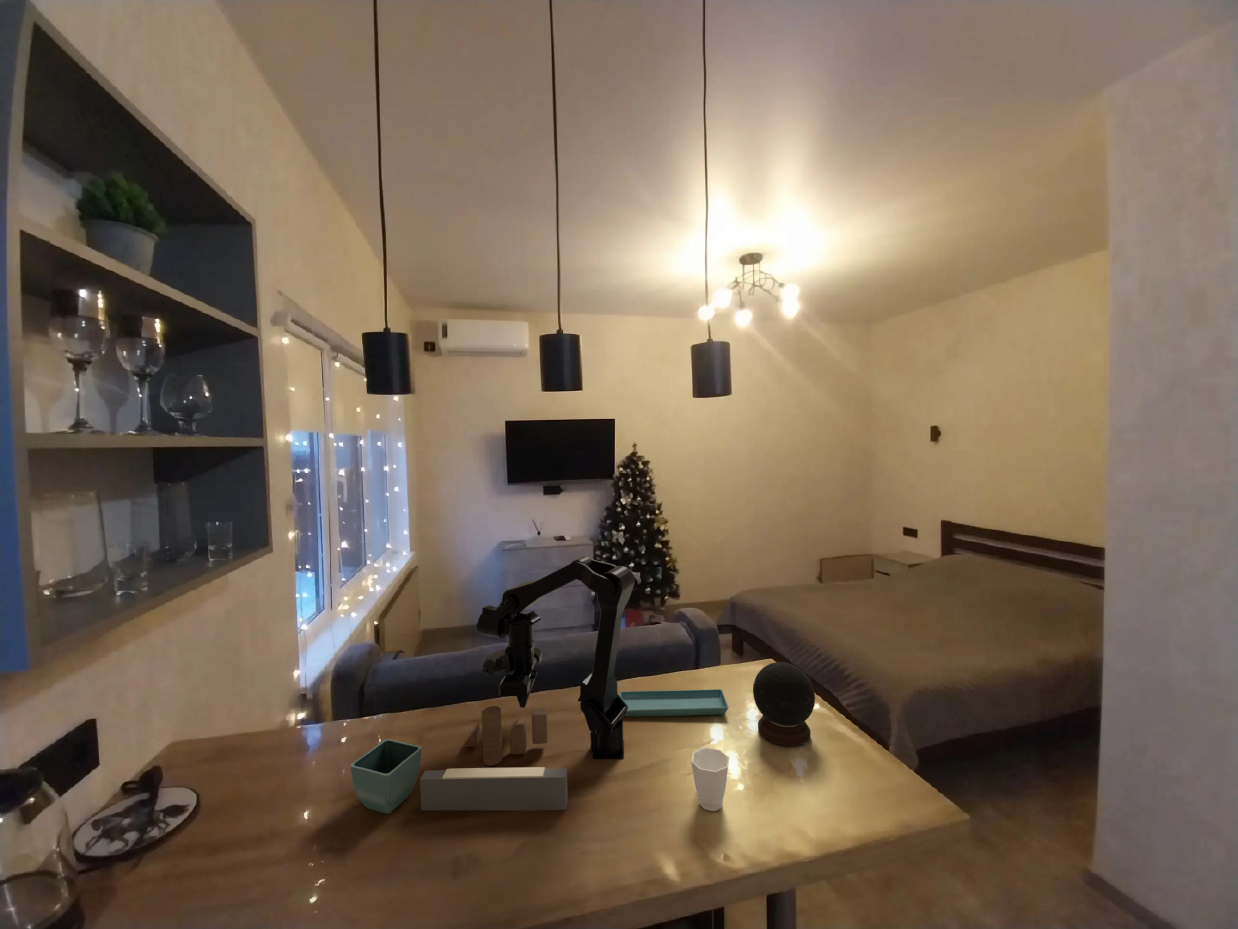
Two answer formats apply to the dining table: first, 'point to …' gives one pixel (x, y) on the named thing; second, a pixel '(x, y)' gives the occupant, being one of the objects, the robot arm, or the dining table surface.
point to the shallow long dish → (674, 702)
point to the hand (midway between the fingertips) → (523, 707)
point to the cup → (710, 776)
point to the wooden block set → (517, 734)
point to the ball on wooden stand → (784, 703)
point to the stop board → (494, 789)
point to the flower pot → (386, 774)
